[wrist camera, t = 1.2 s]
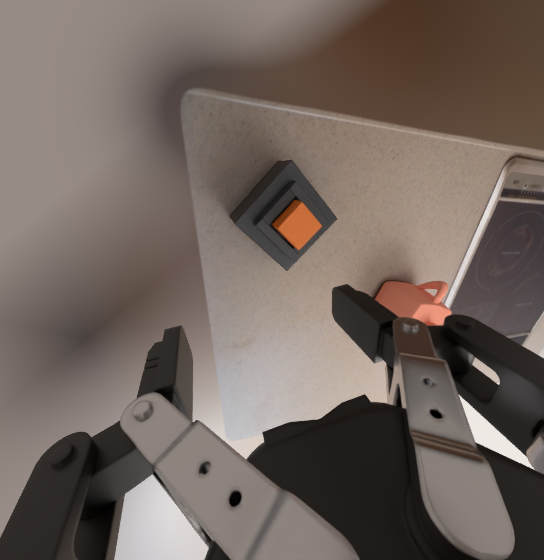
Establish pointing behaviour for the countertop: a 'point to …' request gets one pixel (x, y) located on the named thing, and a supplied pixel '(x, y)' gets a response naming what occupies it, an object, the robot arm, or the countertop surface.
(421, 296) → the teapot
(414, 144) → the countertop surface
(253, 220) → the push button box
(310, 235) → the key
